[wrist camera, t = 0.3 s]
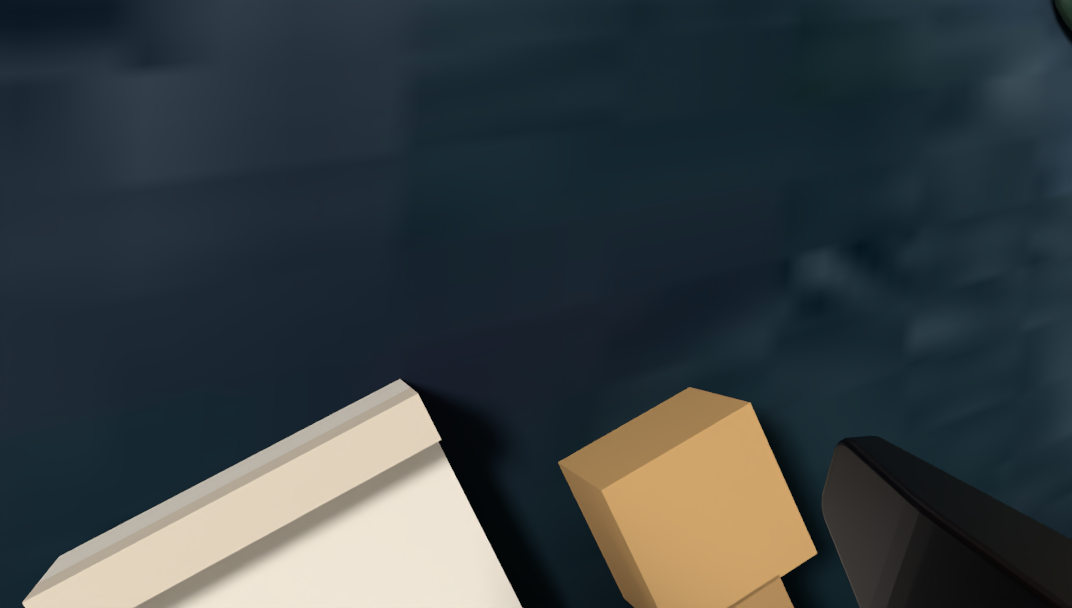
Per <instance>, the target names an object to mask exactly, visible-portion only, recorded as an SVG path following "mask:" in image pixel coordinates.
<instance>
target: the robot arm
mask: <svg viewBox="0 0 1072 608" xmlns="http://www.w3.org/2000/svg"><path fill="white" fill-rule="evenodd" d="M822 511H823V516H824V519H825V522H826V524H827V527H828V529H829V532H830V534H831V537H832V539H833V542H834V544H835V547H836V549H837V552H838V554H839V557H840V559H841V562H842V564H843V567H844V569H845V572H846V574H847V577H848V579H849V582H850V584H851V587H852V589H853V592H854V594H855V597H856V599H857V602H858V604H859V607H860V608H1072V540H1071V539H1069V538H1068V537H1066V536H1064V535H1062V534H1060V533H1058V532H1056V531H1054V530H1053V529H1051V528H1049V527H1047V526H1045V525H1043V524H1041V523H1039V522H1038V521H1036V520H1034V519H1032V518H1030V517H1028V516H1026V515H1024V514H1023V513H1021V512H1019V511H1017V510H1015V509H1013V508H1011V507H1010V506H1008V505H1006V504H1004V503H1002V502H1000V501H998V500H996V499H995V498H993V497H991V496H989V495H987V494H985V493H983V492H981V491H980V490H978V489H976V488H974V487H972V486H970V485H968V484H966V483H965V482H963V481H961V480H959V479H957V478H955V477H953V476H952V475H950V474H948V473H946V472H944V471H942V470H940V469H938V468H937V467H935V466H933V465H931V464H929V463H927V462H925V461H924V460H922V459H920V458H918V457H916V456H914V455H912V454H910V453H909V452H907V451H905V450H903V449H901V448H899V447H897V446H895V445H894V444H892V443H890V442H888V441H886V440H884V439H882V438H880V437H877V436H863V437H851V438H845V439H843V440H841V441H840V442H839V443H838V444H837V445H836V448H835V450H834V454H833V457H832V461H831V465H830V468H829V472H828V475H827V479H826V483H825V486H824V490H823V494H822Z"/></svg>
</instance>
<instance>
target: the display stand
mask: <svg viewBox="0 0 1072 608" xmlns="http://www.w3.org/2000/svg"><path fill="white" fill-rule="evenodd" d="M440 440H441V438H440V436H439V434H438V432H437V430H436V428H435V426H434V424H433V422H432V420H431V418H430V416H429V414H428V412H427V410H426V408H425V406H424V404H423V402H422V400H421V398H420V396H419V394H418V393H417V392H416V391H414V390H413V389H412V388H411V387H410V386H408V385H407V384H406V383H405V382H403V381H402V380H401V379H399V380H397V381H395V382H393V383H391V384H389V385H387V386H385V387H383V388H381V389H380V390H378V391H376V392H374V393H372V394H370V395H368V396H366V397H364V398H362V399H360V400H358V401H357V402H355V403H353V404H351V405H349V406H347V407H345V408H343V409H341V410H339V411H337V412H335V413H334V414H332V415H330V416H328V417H326V418H324V419H322V420H320V421H318V422H316V423H314V424H312V425H310V426H309V427H307V428H305V429H303V430H301V431H299V432H297V433H295V434H293V435H291V436H289V437H287V438H286V439H284V440H282V441H280V442H278V443H276V444H274V445H272V446H270V447H268V448H266V449H264V450H263V451H261V452H259V453H257V454H255V455H253V456H251V457H249V458H247V459H245V460H243V461H241V462H240V463H238V464H236V465H234V466H232V467H230V468H228V469H226V470H224V471H222V472H220V473H218V474H217V475H215V476H213V477H211V478H209V479H207V480H205V481H203V482H201V483H199V484H197V485H195V486H193V487H192V488H190V489H188V490H186V491H184V492H182V493H180V494H178V495H176V496H174V497H172V498H170V499H169V500H167V501H165V502H163V503H161V504H159V505H157V506H155V507H153V508H151V509H149V510H147V511H146V512H144V513H142V514H140V515H138V516H136V517H134V518H132V519H130V520H128V521H126V522H124V523H123V524H121V525H119V526H117V527H115V528H113V529H111V530H109V531H107V532H105V533H103V534H101V535H99V536H98V537H96V538H94V539H92V540H90V541H88V542H86V543H84V544H82V545H80V546H78V547H76V548H75V549H73V550H71V551H69V552H67V553H65V554H63V555H61V556H59V557H58V559H57V560H56V561H55V562H54V564H53V565H52V566H51V567H50V569H49V570H48V571H47V572H46V574H45V575H44V576H43V577H42V579H41V580H40V581H39V582H38V584H37V585H36V586H35V587H34V589H33V590H32V591H31V592H30V594H29V595H28V596H27V597H26V599H25V600H24V601H23V602H22V603H23V605H24V607H25V608H522V606H521V604H520V602H519V600H518V598H517V596H516V594H515V592H514V590H513V588H512V586H511V584H510V583H509V581H508V579H507V577H506V575H505V573H504V571H503V569H502V567H501V565H500V563H499V561H498V559H497V557H496V555H495V553H494V551H493V549H492V547H491V545H490V543H489V541H488V539H487V537H486V535H485V533H484V531H483V529H482V527H481V525H480V523H479V521H478V519H477V517H476V515H475V513H474V511H473V509H472V507H471V506H470V504H469V502H468V500H467V498H466V496H465V494H464V492H463V490H462V488H461V486H460V484H459V482H458V480H457V478H456V476H455V474H454V472H453V470H452V468H451V466H450V464H449V462H448V460H447V458H446V456H445V454H444V452H443V450H442V448H441V446H440V444H439V442H438V441H440Z"/></svg>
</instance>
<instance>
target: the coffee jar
mask: <svg viewBox="0 0 1072 608" xmlns="http://www.w3.org/2000/svg"><path fill="white" fill-rule="evenodd" d="M1055 4H1056V7H1057V10H1058V12H1059V14H1060V15H1061V17H1062V19H1063V21H1064V22H1065V23H1066V25H1067V26H1068V27H1069V28H1070V29H1071V30H1072V0H1055Z"/></svg>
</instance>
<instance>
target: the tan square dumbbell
mask: <svg viewBox="0 0 1072 608" xmlns="http://www.w3.org/2000/svg"><path fill="white" fill-rule="evenodd" d="M558 464H559V466H560V468H561V470H562V472H563V474H564V476H565V478H566V480H567V482H568V484H569V486H570V488H571V490H572V492H573V494H574V497H575V499H576V501H577V503H578V505H579V507H580V509H581V511H582V513H583V515H584V517H585V519H586V521H587V523H588V525H589V527H590V529H591V531H592V534H593V536H594V538H595V540H596V542H597V544H598V546H599V548H600V550H601V552H602V554H603V556H604V558H605V560H606V562H607V564H608V566H609V568H610V571H611V573H612V575H613V577H614V579H615V581H616V583H617V585H618V587H619V589H620V591H621V593H622V595H623V597H624V599H626V600H627V601H628V602H629V603H630V604H631V605H632V606H633V607H634V608H794V607H793V605H792V603H791V600H790V598H789V596H788V594H787V592H786V589H785V587H784V585H783V583H782V581H781V578H780V577H782V576H783V575H785V574H787V573H788V572H790V571H791V570H793V569H794V568H796V567H797V566H799V565H800V564H802V563H803V562H805V561H806V560H808V559H810V558H811V557H813V556H814V555H816V554H817V551H816V549H815V546H814V544H813V542H812V540H811V538H810V535H809V533H808V531H807V529H806V526H805V524H804V522H803V520H802V517H801V515H800V513H799V511H798V508H797V506H796V504H795V502H794V499H793V497H792V495H791V493H790V490H789V488H788V486H787V484H786V482H785V479H784V477H783V475H782V473H781V470H780V468H779V466H778V464H777V461H776V459H775V457H774V455H773V452H772V450H771V448H770V446H769V443H768V441H767V439H766V437H765V434H764V432H763V430H762V428H761V425H760V423H759V421H758V419H757V417H756V414H755V412H754V410H753V408H752V405H751V403H750V402H746V401H742V400H738V399H734V398H730V397H726V396H722V395H718V394H714V393H710V392H706V391H703V390H699V389H695V388H691V387H689V388H687V389H686V390H684V391H682V392H680V393H679V394H677V395H675V396H673V397H672V398H670V399H668V400H666V401H665V402H663V403H661V404H659V405H658V406H656V407H654V408H652V409H651V410H649V411H647V412H645V413H644V414H642V415H640V416H638V417H637V418H635V419H633V420H631V421H630V422H628V423H626V424H624V425H623V426H621V427H619V428H617V429H616V430H614V431H612V432H610V433H609V434H607V435H605V436H603V437H602V438H600V439H598V440H596V441H595V442H593V443H591V444H589V445H588V446H586V447H584V448H582V449H581V450H579V451H577V452H575V453H574V454H572V455H570V456H568V457H567V458H565V459H563V460H561V461H560V462H558Z"/></svg>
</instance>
